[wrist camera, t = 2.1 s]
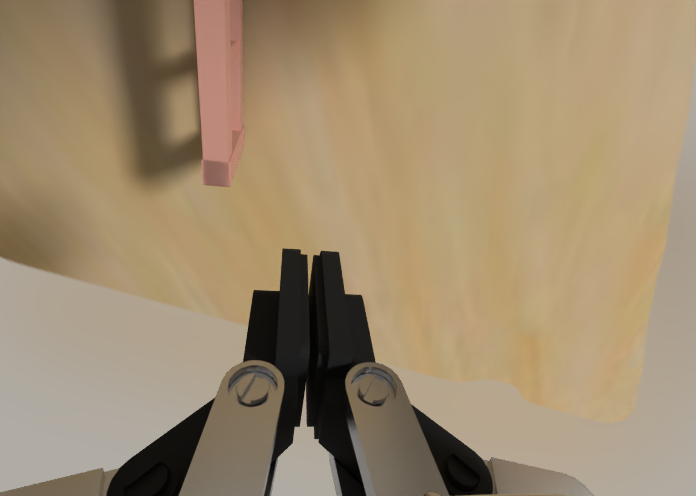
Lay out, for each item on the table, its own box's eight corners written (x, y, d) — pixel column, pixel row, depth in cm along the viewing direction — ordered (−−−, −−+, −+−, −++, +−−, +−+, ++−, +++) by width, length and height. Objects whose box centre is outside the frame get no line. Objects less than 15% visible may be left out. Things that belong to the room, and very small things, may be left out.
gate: (215, -90, 22) (184, -115, 16) (244, -84, 22) (224, -106, 16) (222, 143, 30) (202, 184, 24) (243, 145, 30) (230, 187, 24)
